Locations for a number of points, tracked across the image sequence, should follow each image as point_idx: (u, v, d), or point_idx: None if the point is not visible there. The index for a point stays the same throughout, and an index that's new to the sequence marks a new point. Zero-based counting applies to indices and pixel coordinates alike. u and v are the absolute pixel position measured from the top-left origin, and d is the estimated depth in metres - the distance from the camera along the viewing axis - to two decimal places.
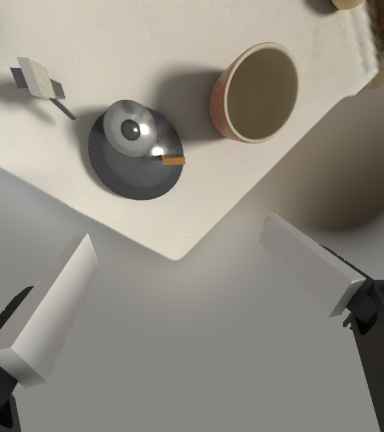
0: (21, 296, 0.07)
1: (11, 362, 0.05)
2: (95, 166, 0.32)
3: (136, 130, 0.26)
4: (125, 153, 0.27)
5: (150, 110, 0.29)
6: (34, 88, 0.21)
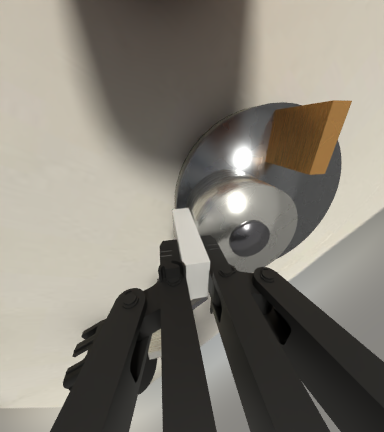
0: (164, 245, 0.10)
1: (191, 276, 0.08)
2: None
3: (252, 230, 0.11)
4: (283, 247, 0.13)
5: (184, 180, 0.14)
6: None
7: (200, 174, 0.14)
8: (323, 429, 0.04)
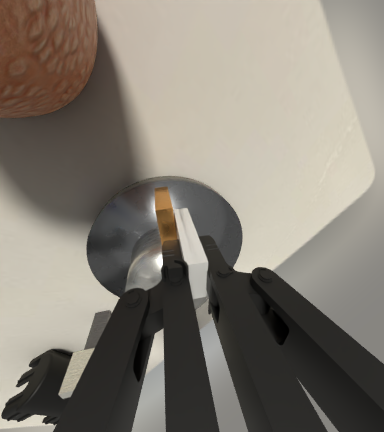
0: (166, 245, 0.10)
1: (193, 275, 0.09)
2: None
3: None
4: None
5: (89, 246, 0.17)
6: None
7: (102, 240, 0.17)
8: (320, 429, 0.04)
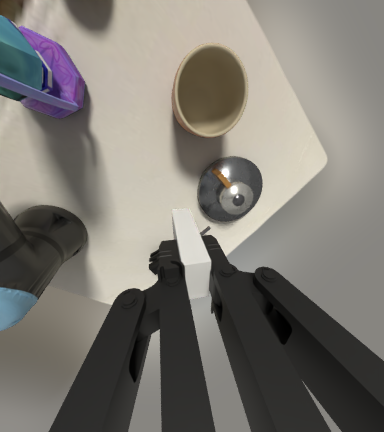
0: (163, 246, 0.10)
1: (190, 276, 0.08)
2: (250, 208, 0.48)
3: (236, 199, 0.39)
4: (249, 188, 0.39)
5: (201, 204, 0.44)
6: None
7: (204, 200, 0.44)
8: (324, 429, 0.04)
